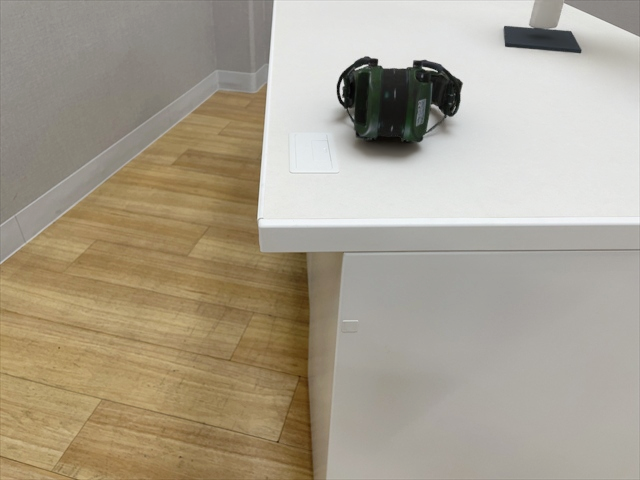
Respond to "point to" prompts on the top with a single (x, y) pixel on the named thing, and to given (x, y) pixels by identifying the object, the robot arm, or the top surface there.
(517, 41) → the slate mat
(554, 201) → the top surface
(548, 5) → the eye dropper bottle
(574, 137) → the top surface
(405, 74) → the headphones
